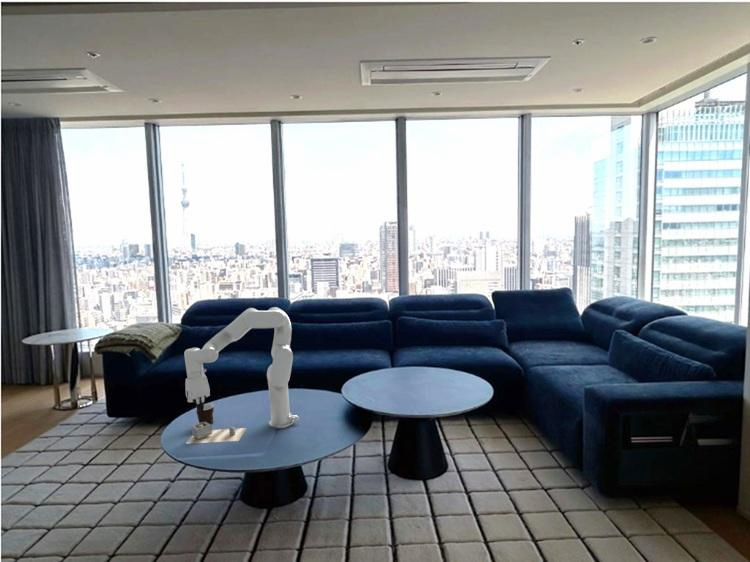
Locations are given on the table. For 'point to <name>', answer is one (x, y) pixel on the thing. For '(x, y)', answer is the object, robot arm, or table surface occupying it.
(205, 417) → the coffee mug
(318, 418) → the table surface
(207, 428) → the collar
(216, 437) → the stand board
